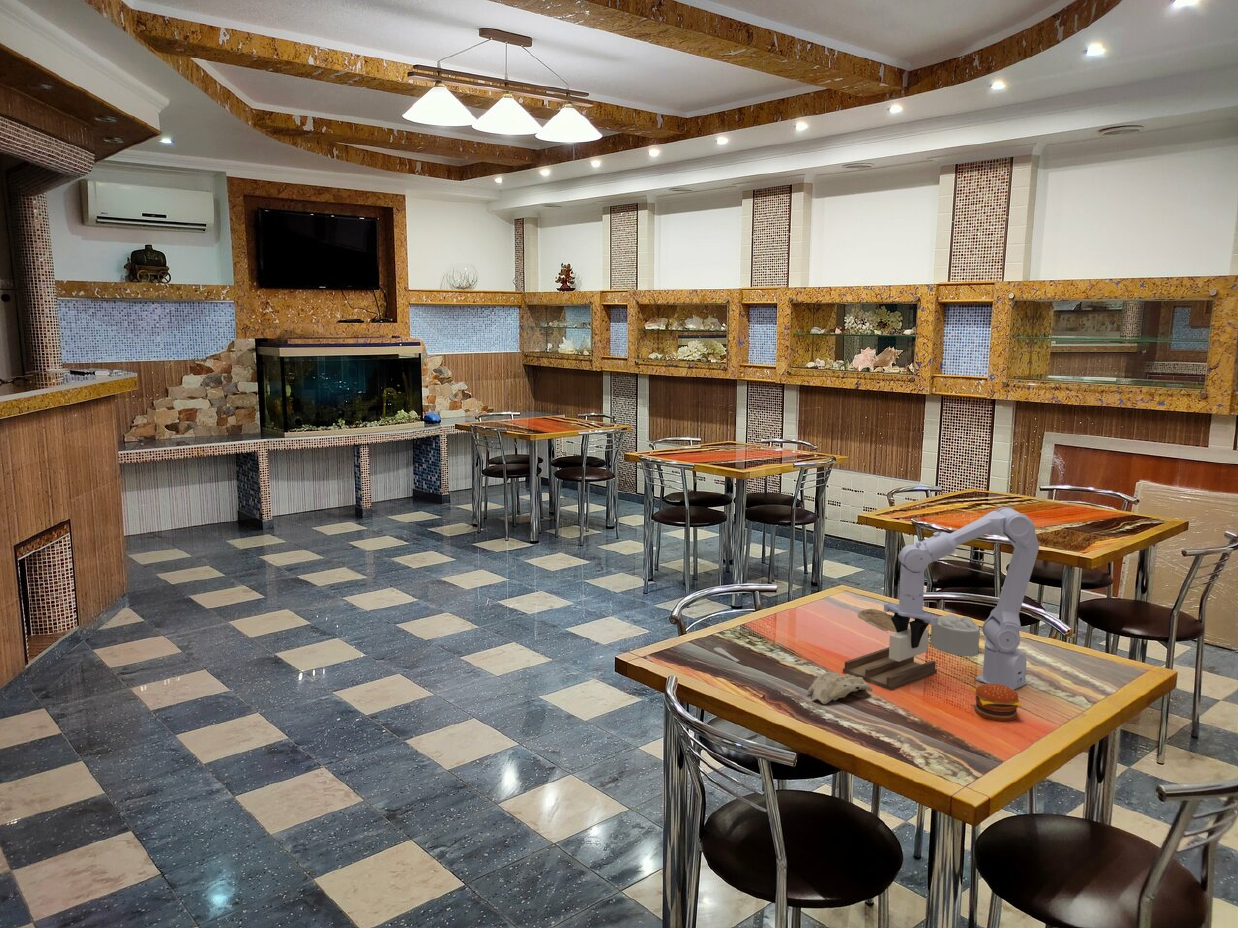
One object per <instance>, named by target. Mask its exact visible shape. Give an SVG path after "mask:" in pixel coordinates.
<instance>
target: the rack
mask: <svg viewBox="0 0 1238 928" xmlns="http://www.w3.org/2000/svg"><path fill="white" fill-rule="evenodd" d="M914 660H915V656H914V657H911V658H908V659H905V660H902V661H900V662H898V661H895V660H892V659H890V658H889V646H888V647H885V648H882V649H879V650H875V651H873V652H870V653H866V654H864V655H861V656H858V657H855V658H852V659H849V660H846V661H844V668H842V673H844V674H845V675H846V674H849V675H851V676H856V677H862V678H863V680H864V681H865V682H866V683H870V684H871V685H876V686H878V687H881V688H883V689H885V690H889V691H895V690H897V689H899V688H902V687H904V686H907V685H910V684H912V683H915V682H918V681H921V680H923V679H926V678H928V677H931V676H933V675H936V674H938V669H936V662H937V661H934V660H930V661H928V662H925V663H919V662H915V661H914Z"/></svg>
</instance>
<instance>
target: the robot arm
mask: <svg viewBox="0 0 1238 928" xmlns="http://www.w3.org/2000/svg"><path fill="white" fill-rule="evenodd" d="M932 534H933V535H932V536H930V537H928V538H926V539H924V540H921V541H920V540H917V541H915V544H908V545H905V546H904V547H902V550H901V549H900V552H899V554H898V561H899V562H900V563H901V566H900V567H901V569H900V577H899V579H900V580H899V599H898V604H897V603H892V602H886V603H883V612H885V613H892V614H893V616H892V617H891V620H892V622H893V624H894V626H895V628H896V631H897V632H896V633H898V632H901V631H904V630H908V629H911V647H912V648H917V647H918V646H919V643H920V640H921V637H922V635H923V633H924V631H925V629H926V628H927V627H928V626H929V625H933V626H934V625H937V624H938V617H939V616H937V615H934V614H933V613H930V612H928V611H925V610H924V593H925V592H924V590H925V570H927V568H928V566H929V564H931V563H934V562H937V561H938V560H940V559H943V558H945V557H947V556H950V555H952V554H955V551H956V549H957V547H958V546H959V545H962V544H964V543H967V542H970V541H972V540H975V539H977V538H980V537H983V536H985V535H989V534H990V535H995V536H1000V537H1004V535H1005V536H1006V537H1007V539H1008V541H1009V542H1010V543H1011V545H1012V546H1013V552H1012V554H1011V558H1010V562H1009V566H1008V568H1007V572H1006V575H1005V579H1004V582H1003V585H1002V588H1001V592H1000V595H999V598H998V601H997V604H996V606H995V608H993V609H992V610H991V611H990V613H989V614H990V615H989V616H988V618H986V619H985V621H984V622H983V624H982V627H981V629H982V633H983V635H984V637H985V639H986V640H985V642H984V651H983V665H982V666H983V667H982V674H981V675H979V676H976V677H975V678H974V679H975V681H978V682H981V683H983V684H987V683H993V684H1001V685H1005V686H1007V687H1009V688H1011V689H1013V690H1014V691H1015V690H1017V689H1019V688H1020V687H1023V686H1025V685H1027V681H1026V676H1027V675H1026V673H1027V657H1026V655H1025V654H1023V653H1021V652H1019V651H1018V650H1017V648H1018V647H1019V645H1020V643H1021V635H1020V631H1021V621H1020V620H1021V619H1020V612H1021V608H1022V605H1023V602H1024V598H1025V595H1026V592H1027V589H1028V586H1029V582H1030V579H1031V576H1032V573H1033V571H1034V570H1033V569H1034V566H1035V563H1036V559H1037V556H1038V553H1039V550H1040V544H1039V541H1038V536H1037V533H1036V524H1034V522H1033V521H1032V520H1031V519H1030V517H1028V516H1027V515H1026V514H1023V513H1021V512H1020V511H1017V510H1015V509H1014V508H1013V507H1011V506H1004V507H1000V508H998V509H996V510H992V511H990V512H988V513H987V514H985V515H983V516H981V517H980V518H978V519H976V520H974V521H972V522H971V523H968V524H966V525H964V526H963V527H960V528H959V529H957V530H954V531H953V532H951V533H948V532H946V531H941V532H939V531H936V532H934V533H932ZM911 619H912V620H911ZM910 620H911V621H910ZM909 627H910V628H909ZM927 629H928V628H927Z"/></svg>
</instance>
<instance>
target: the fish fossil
mask: <svg viewBox="0 0 1238 928" xmlns="http://www.w3.org/2000/svg"><path fill="white" fill-rule="evenodd" d="M892 616H894V614H889V613H888V612H885V611H884V610H883V611H882V610H879V609H876V608H868V609H867V608H866V609H865V610H864V609H863V610H860V611H859V612H858V613H857V618H859V619H860V620H863V621H864V622H865V623H867V624H869V625H871V626H872V627H875V628H876V629H878V630H881V631H884V632H886V633H887V634H888V633H889V632H892V633H897V631H896V628H895V626H894V624H893V622H892V620H891V617H892Z"/></svg>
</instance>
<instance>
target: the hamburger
mask: <svg viewBox="0 0 1238 928" xmlns="http://www.w3.org/2000/svg"><path fill="white" fill-rule="evenodd" d="M972 692H973V693H974V694H975V705H974V711H975V713H976V714H977V715H978V716H981V717H983V718H985V719H988V720H992V721H996V722H997V721H998V722H1008V721H1009V722H1010V721H1013V720H1015V719H1017V717H1018V712H1017V708H1018V707H1019V708H1023V705H1022V704H1021V702H1020V700H1019V693H1018V692H1017V691H1016V690H1015V689H1014V690H1013V689H1011V688H1009V687H1007V686H1005V685H1001V684H993V683H983V684H982V685H979V686H977V687H976V688H973V689H972Z"/></svg>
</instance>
